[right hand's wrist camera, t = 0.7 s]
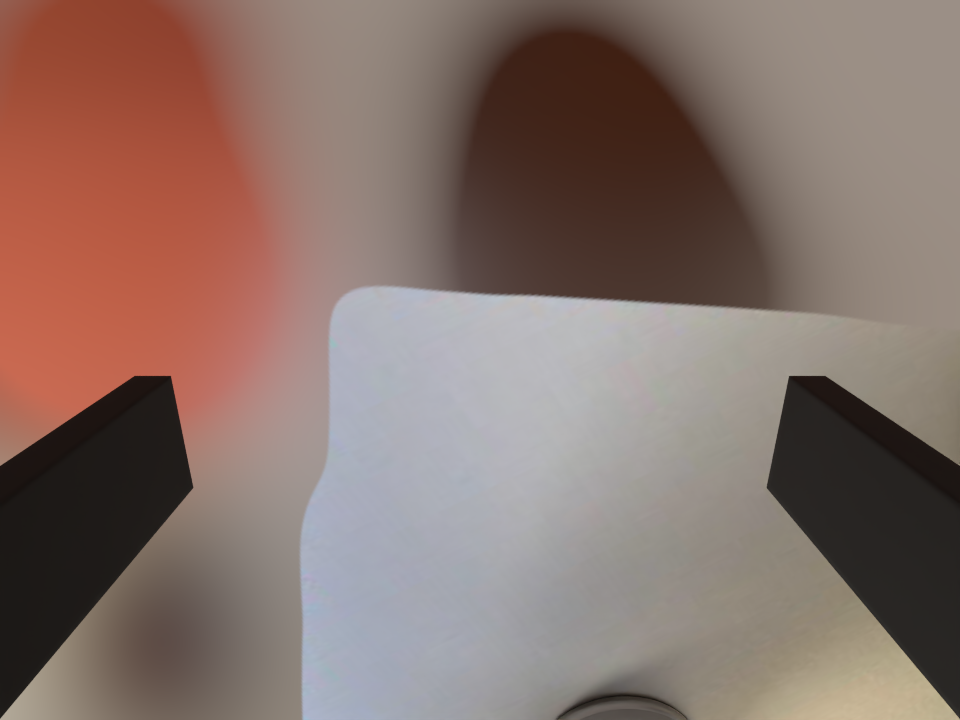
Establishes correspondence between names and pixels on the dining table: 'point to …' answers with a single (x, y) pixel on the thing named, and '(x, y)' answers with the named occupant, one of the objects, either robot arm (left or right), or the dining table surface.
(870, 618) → the dining table surface
